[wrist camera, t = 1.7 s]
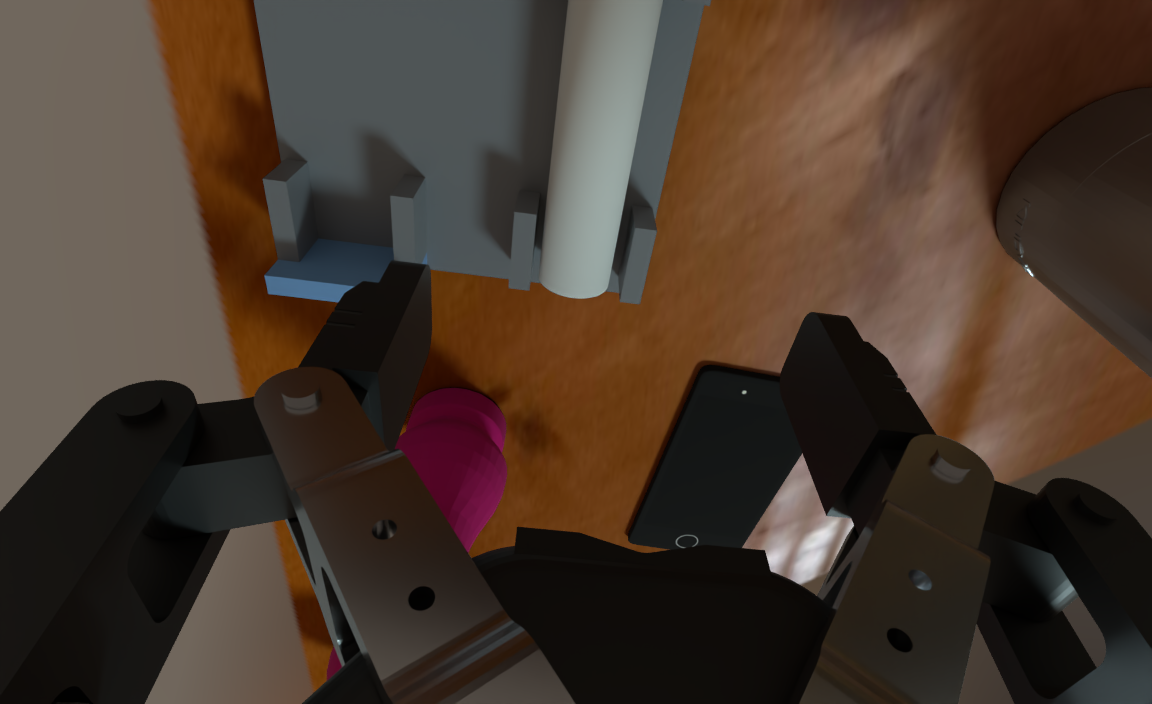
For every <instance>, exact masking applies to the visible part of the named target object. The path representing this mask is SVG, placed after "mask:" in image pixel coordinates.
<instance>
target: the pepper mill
mask: <svg viewBox="0 0 1152 704" xmlns="http://www.w3.org/2000/svg"><path fill="white" fill-rule="evenodd" d="M505 434H506V422H505V418H504V416H503V414H502V412H501V411H500V409H499V408H498V407H497V406H496V405H495V403H494V402H493V401H491V400H490V399H488V398H486V397H485V396H483V395H482V394H480V393H477V392H474V391H471V390H468V389H461V388H444V389H439V390H436V391H433V392H430V393H428V394H426V395H424V396H423V397H422V398H421V399H420V400H418V402H417V403H416V404H415V406H414V408H413V411H412V413H411V416H410V419H409V422H408V425H407V428H406V432H405V433H403V434H402V435H401V436H400V437H399V438H398V441H397V444H396V447H395V449H400V450H401V451H402V452H403V453H404V454H405V455H406V456H407V458H408V459H409V461H410V462H411V464H412V466H413V467H414V469H415V470H416V472H417V473H418V475H419V477H420V478H421V480H422V481H423V483H424V484H425V486H426V488H427V489H428V491H429V492H430V494H431V496H432V497H433V499H434V500H435V502H436V503H437V505H438V507H439V508H440V510H441V511H442V513H443V514H444V516H445V518H446V519H447V521H448V522H449V524H450V525H451V527H452V529H453V530H454V532H455V533H456V535H457V537H458V538H459V540H460V541H461V543H462V544H463V546H464V548H465V549H466V551H467V552H469V550H470V548H471V546H472V544H473V542H474V541H475V539H476V537H477V536H478V534H479V533H480V531H481V530H482V528H483V527H484V526H485V524H486V523H487V522H488V520H489V519H490V518H491V516H492V515H493V513H494V512H495V510H496V508H497V506H498V504H499V502H500V500H501V497H502V495H503V491H504V487H505V483H506V477H507V466H506V461H505V459H504V457H503V455H502V450H503V446H504V440H505ZM341 668H342V665H341V663H340V660H339V658H338V655H337V653H336V650H335V648H334V647H333V650H332V652H331V655H330V660H329V665H328V669H327V680H328V679H330V678H331V677H332V676H333V675H334V674H335V673H336V672H337V671H338V670H339V669H341Z"/></svg>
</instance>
